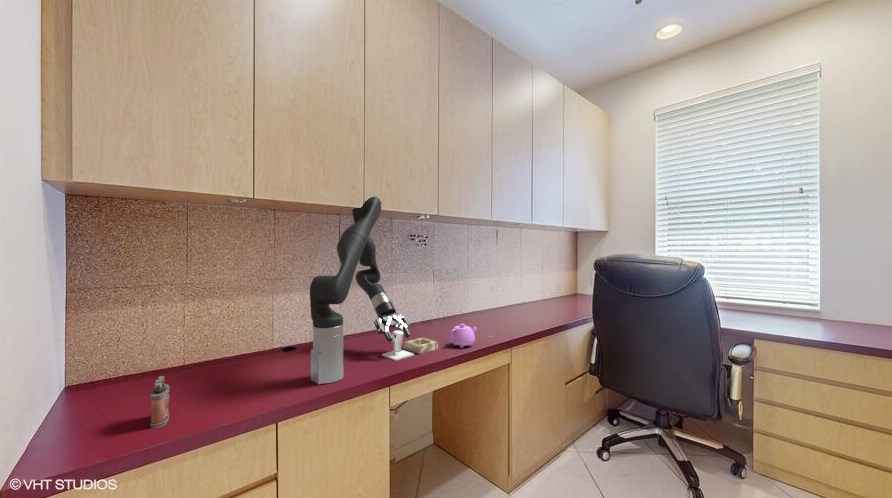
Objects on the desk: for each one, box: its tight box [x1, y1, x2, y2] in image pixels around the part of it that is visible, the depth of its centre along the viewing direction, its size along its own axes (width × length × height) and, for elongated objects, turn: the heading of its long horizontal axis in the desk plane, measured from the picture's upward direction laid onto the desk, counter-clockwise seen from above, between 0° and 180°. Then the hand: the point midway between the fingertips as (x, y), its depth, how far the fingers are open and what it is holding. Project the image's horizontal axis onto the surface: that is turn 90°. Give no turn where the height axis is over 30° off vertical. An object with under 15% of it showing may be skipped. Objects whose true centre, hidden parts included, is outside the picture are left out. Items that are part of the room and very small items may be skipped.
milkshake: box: [391, 326, 405, 355], centre depth 130 cm, size 5×5×10 cm
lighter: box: [149, 375, 170, 429], centre depth 80 cm, size 8×3×10 cm, turn 35°
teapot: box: [449, 323, 478, 349], centre depth 144 cm, size 10×15×9 cm
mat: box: [381, 349, 415, 362], centre depth 130 cm, size 9×9×1 cm
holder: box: [403, 337, 439, 355], centre depth 138 cm, size 10×10×3 cm
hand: (400, 338), depth 129 cm, fingers open, 8 cm apart
